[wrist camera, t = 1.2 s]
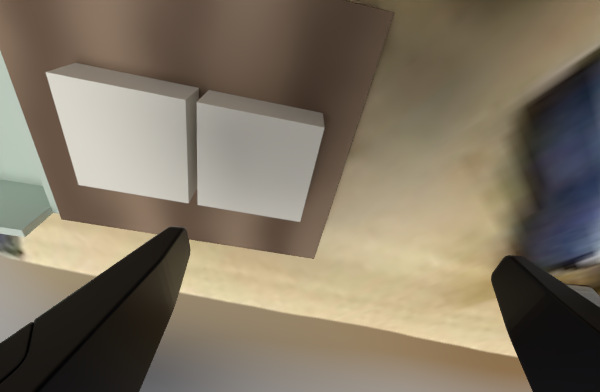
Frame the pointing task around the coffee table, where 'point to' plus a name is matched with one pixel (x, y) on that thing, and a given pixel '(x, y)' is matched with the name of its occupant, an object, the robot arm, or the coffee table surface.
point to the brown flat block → (200, 92)
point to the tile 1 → (128, 131)
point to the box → (19, 168)
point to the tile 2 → (255, 155)
